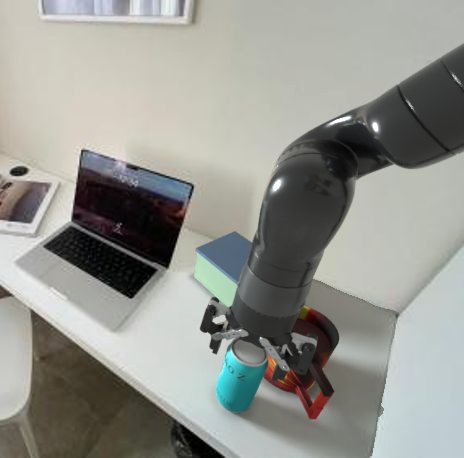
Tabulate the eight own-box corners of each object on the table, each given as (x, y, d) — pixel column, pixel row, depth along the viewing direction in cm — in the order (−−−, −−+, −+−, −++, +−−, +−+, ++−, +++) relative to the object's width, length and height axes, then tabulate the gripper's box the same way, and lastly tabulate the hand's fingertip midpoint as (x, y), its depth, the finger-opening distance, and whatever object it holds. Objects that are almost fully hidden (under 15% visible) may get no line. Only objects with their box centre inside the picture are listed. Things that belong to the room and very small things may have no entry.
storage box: (193, 276, 86) (197, 252, 81) (231, 259, 89) (237, 235, 84) (237, 316, 76) (244, 291, 71) (278, 295, 79) (287, 270, 74)
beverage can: (228, 378, 66) (244, 327, 56) (257, 403, 62) (279, 353, 52) (207, 396, 63) (220, 346, 54) (235, 423, 59) (254, 375, 50)
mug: (309, 425, 58) (335, 387, 51) (243, 357, 68) (257, 317, 61) (351, 398, 60) (382, 358, 53) (282, 337, 71) (299, 296, 64)
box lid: (195, 250, 82) (195, 247, 81) (234, 233, 85) (235, 230, 84) (244, 291, 71) (245, 288, 70) (287, 270, 74) (288, 267, 74)
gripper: (340, 293, 44) (301, 365, 54) (221, 256, 51) (205, 325, 61) (333, 338, 40) (291, 407, 49) (203, 290, 47) (190, 359, 57)
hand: (244, 362), depth 55 cm, fingers open, 8 cm apart
